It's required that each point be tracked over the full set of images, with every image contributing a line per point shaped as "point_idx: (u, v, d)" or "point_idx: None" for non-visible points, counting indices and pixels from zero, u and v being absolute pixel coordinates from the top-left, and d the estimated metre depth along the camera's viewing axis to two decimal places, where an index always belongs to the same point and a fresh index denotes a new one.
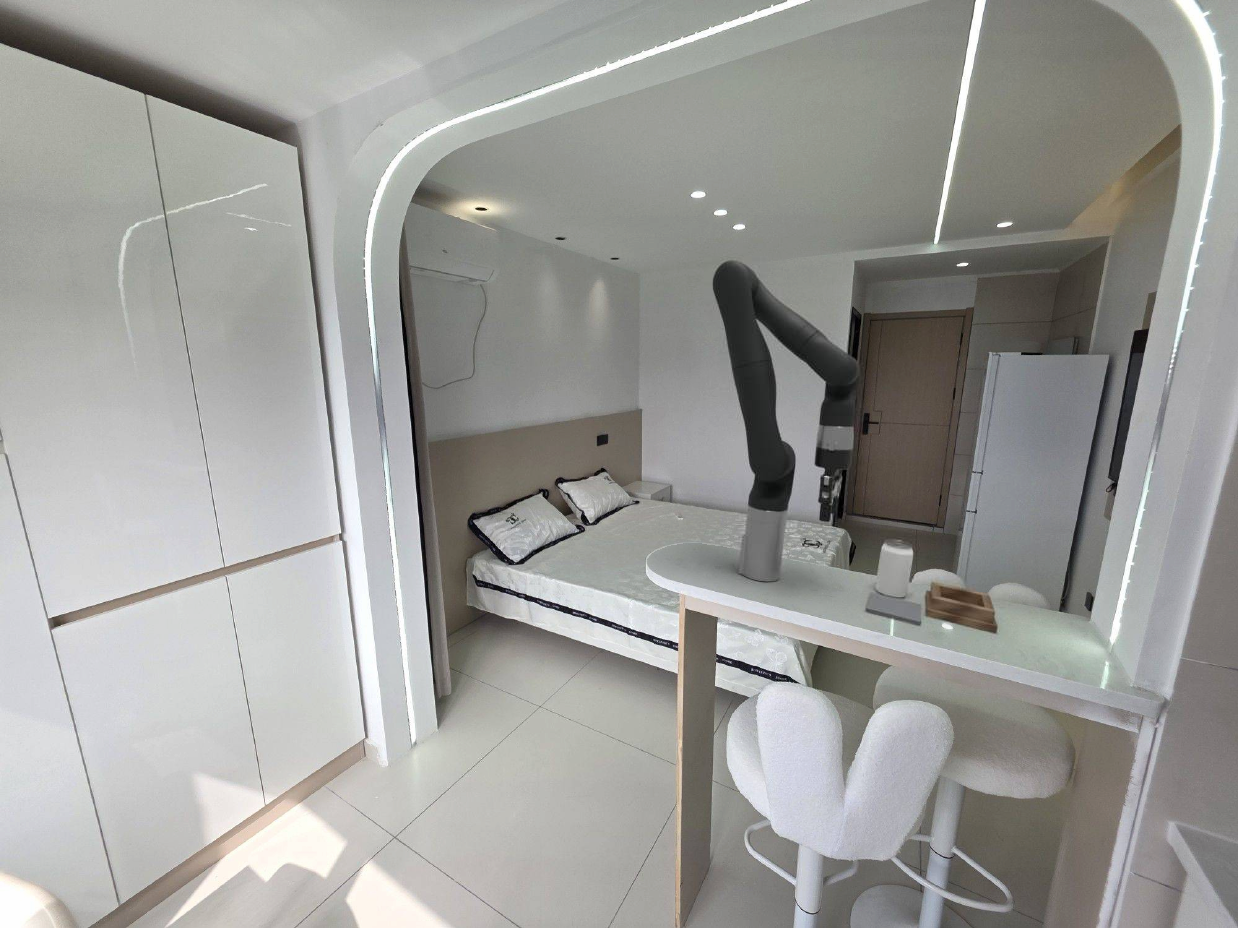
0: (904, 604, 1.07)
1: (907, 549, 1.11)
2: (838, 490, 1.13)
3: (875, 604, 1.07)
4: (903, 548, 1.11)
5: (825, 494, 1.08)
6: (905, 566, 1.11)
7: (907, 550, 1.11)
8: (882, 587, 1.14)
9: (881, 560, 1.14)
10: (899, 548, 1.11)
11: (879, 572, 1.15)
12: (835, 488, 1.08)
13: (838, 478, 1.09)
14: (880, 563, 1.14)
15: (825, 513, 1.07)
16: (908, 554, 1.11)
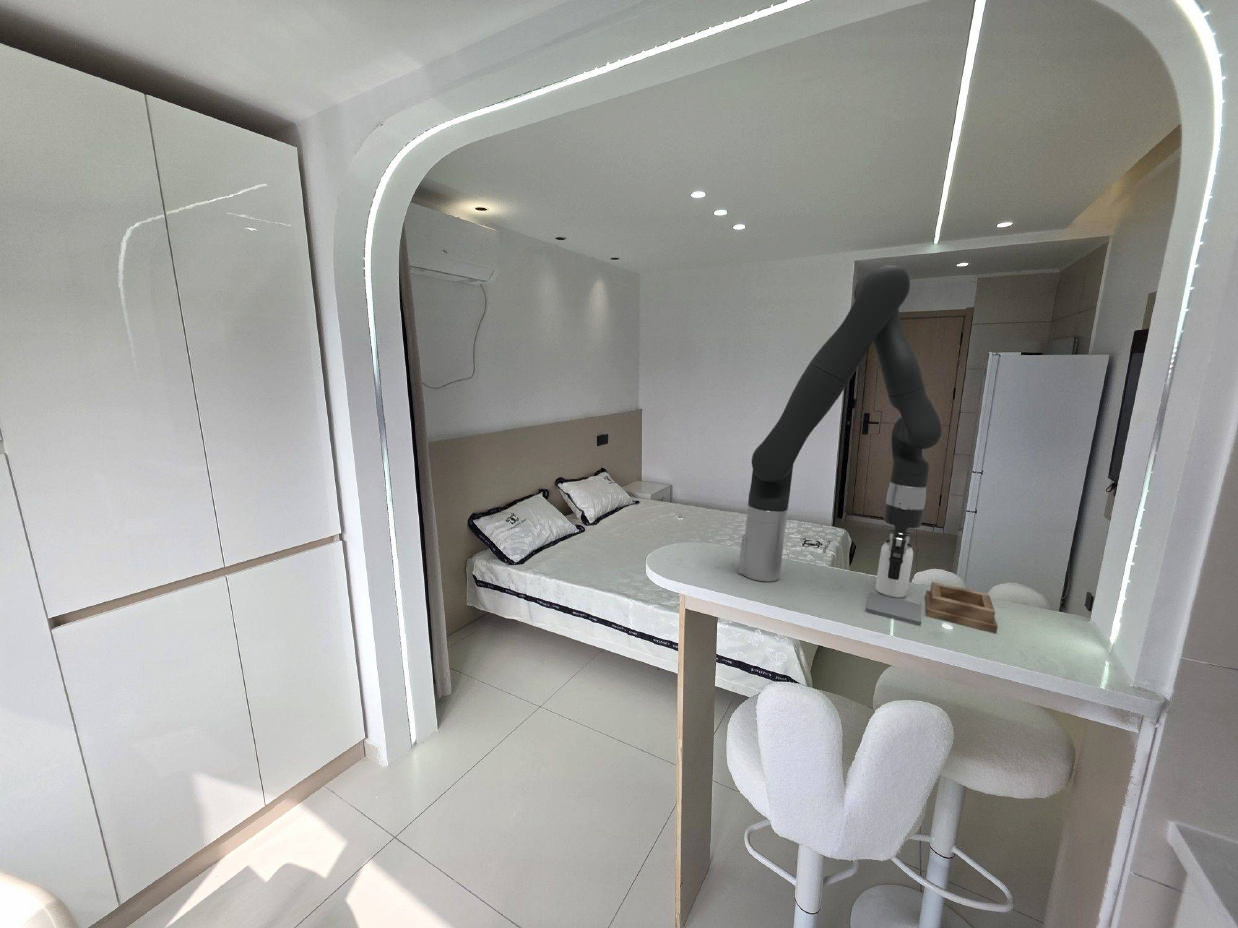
0: (904, 604, 1.07)
1: (907, 549, 1.11)
2: None
3: (875, 604, 1.07)
4: None
5: None
6: (905, 566, 1.11)
7: (907, 550, 1.11)
8: (882, 587, 1.14)
9: (881, 560, 1.14)
10: None
11: (879, 572, 1.15)
12: (905, 547, 1.10)
13: (908, 536, 1.10)
14: (880, 563, 1.14)
15: (894, 571, 1.10)
16: (908, 554, 1.11)
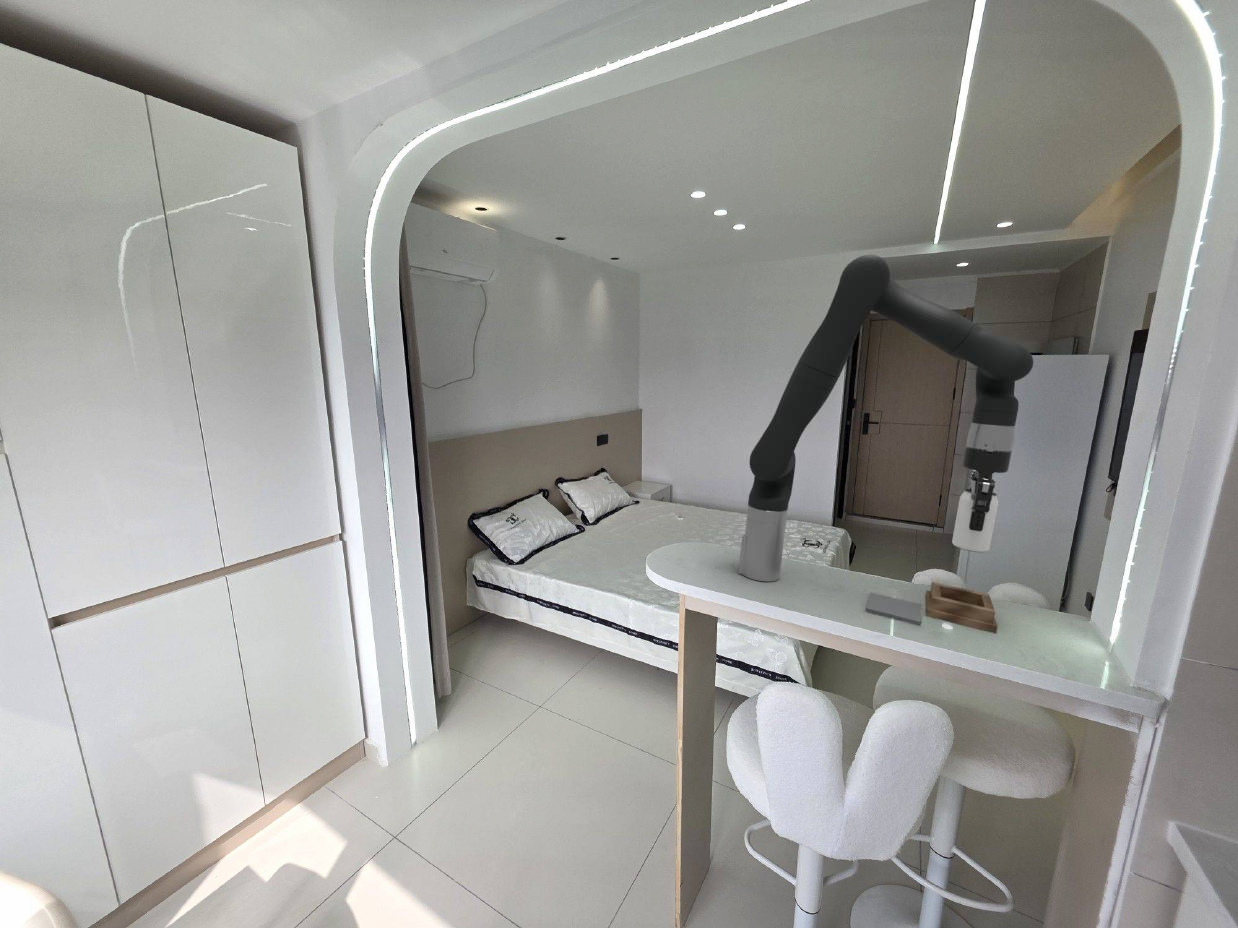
0: (904, 604, 1.07)
1: (992, 497, 0.99)
2: None
3: (875, 604, 1.07)
4: None
5: (978, 500, 1.00)
6: (989, 516, 0.99)
7: (992, 498, 0.99)
8: (962, 541, 1.02)
9: (960, 511, 1.03)
10: None
11: (957, 524, 1.03)
12: None
13: (993, 482, 0.99)
14: (959, 514, 1.03)
15: (978, 522, 0.99)
16: (994, 503, 0.99)
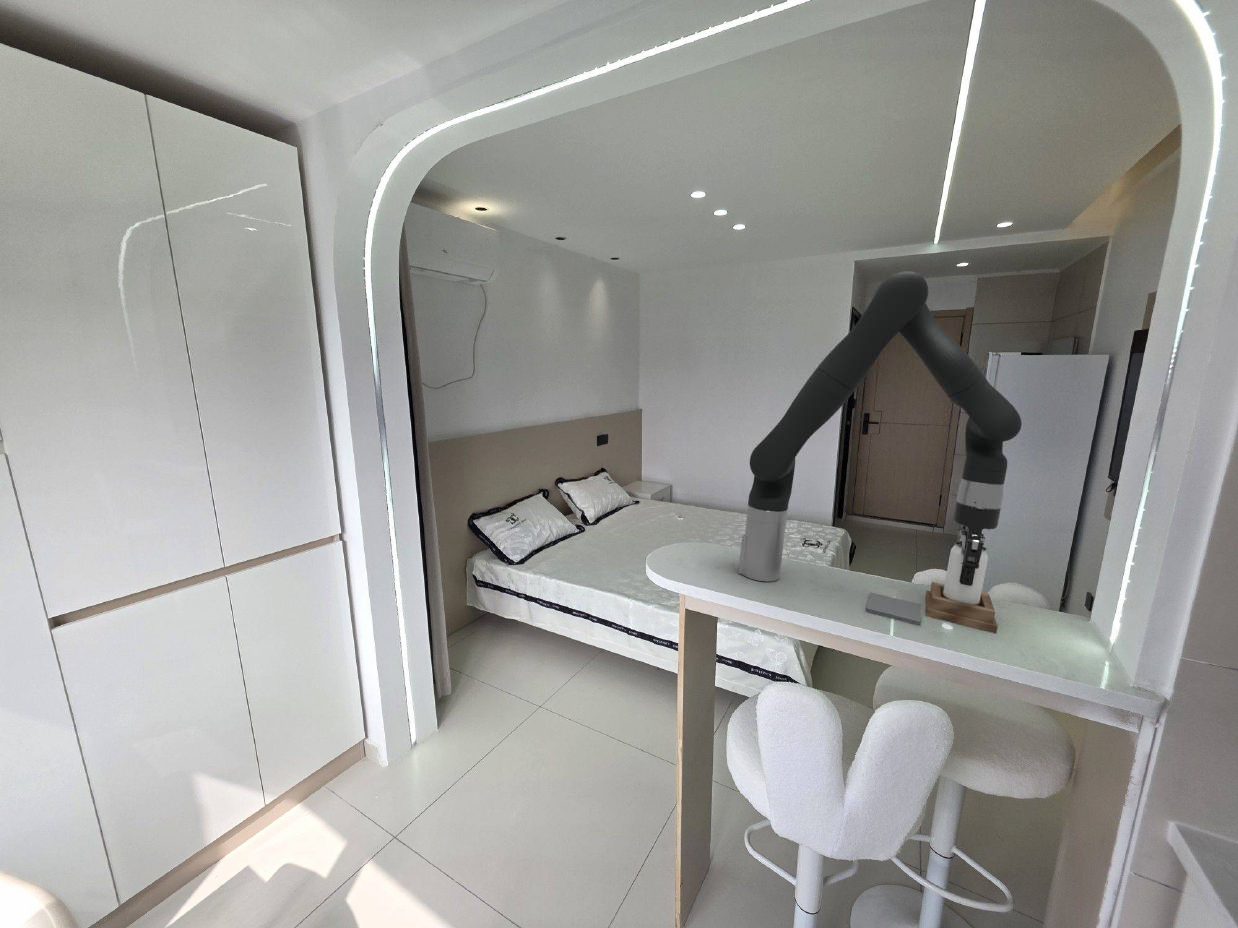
0: (904, 604, 1.07)
1: (982, 552, 1.01)
2: None
3: (875, 604, 1.07)
4: None
5: None
6: (979, 571, 1.01)
7: None
8: (953, 594, 1.04)
9: (951, 564, 1.04)
10: None
11: (948, 577, 1.05)
12: None
13: (983, 538, 1.01)
14: (950, 567, 1.05)
15: (968, 577, 1.01)
16: (983, 558, 1.01)
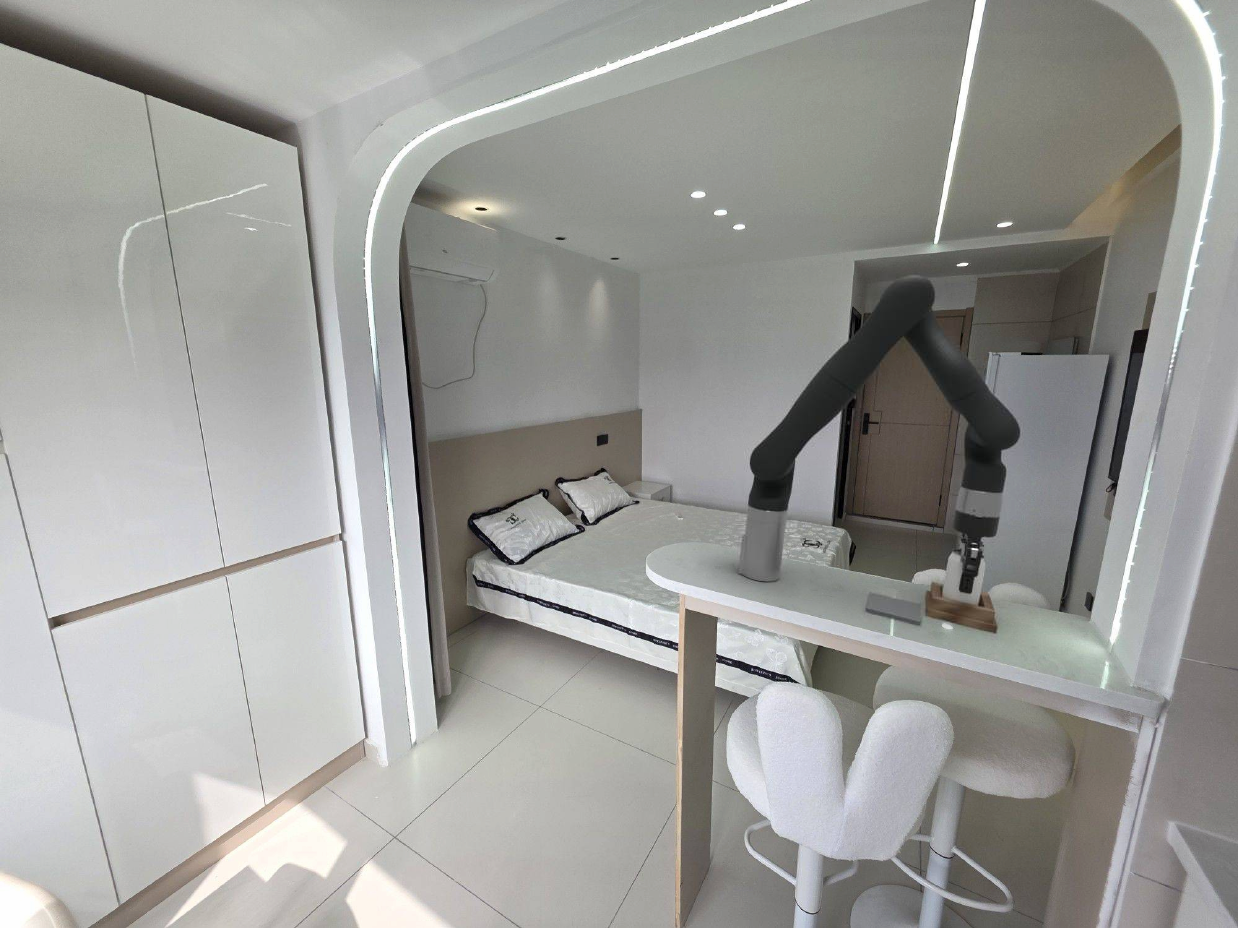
0: (904, 604, 1.07)
1: None
2: None
3: (875, 604, 1.07)
4: None
5: None
6: (977, 578, 1.02)
7: None
8: None
9: (949, 571, 1.05)
10: None
11: (946, 584, 1.05)
12: None
13: (982, 546, 1.01)
14: (948, 575, 1.05)
15: (967, 585, 1.01)
16: (981, 565, 1.01)
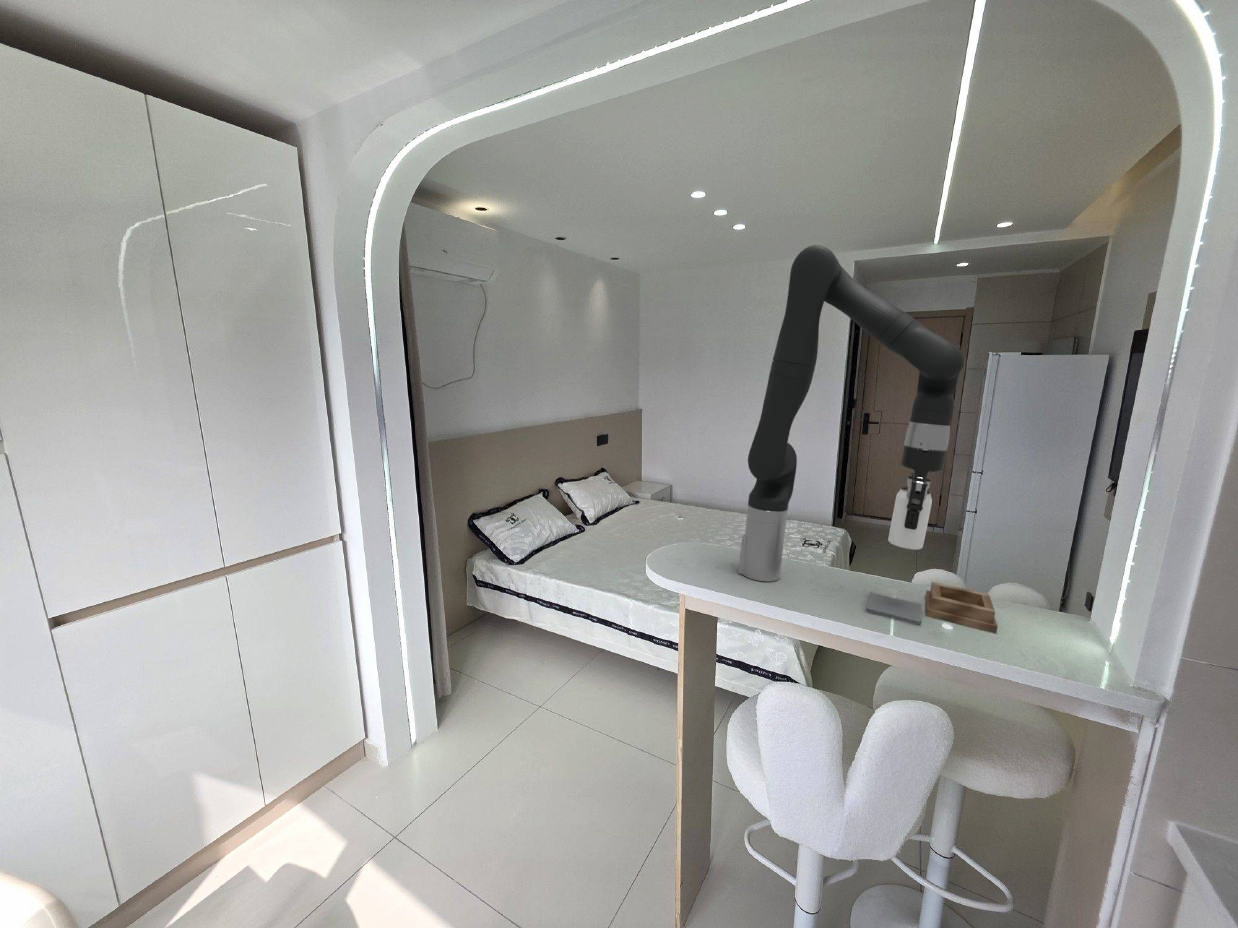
0: (904, 604, 1.07)
1: None
2: None
3: (875, 604, 1.07)
4: None
5: None
6: (923, 514, 1.00)
7: None
8: (896, 538, 1.03)
9: (896, 509, 1.03)
10: None
11: (893, 522, 1.04)
12: (925, 493, 0.99)
13: (928, 481, 0.99)
14: (895, 512, 1.04)
15: (912, 520, 0.99)
16: (927, 501, 1.00)
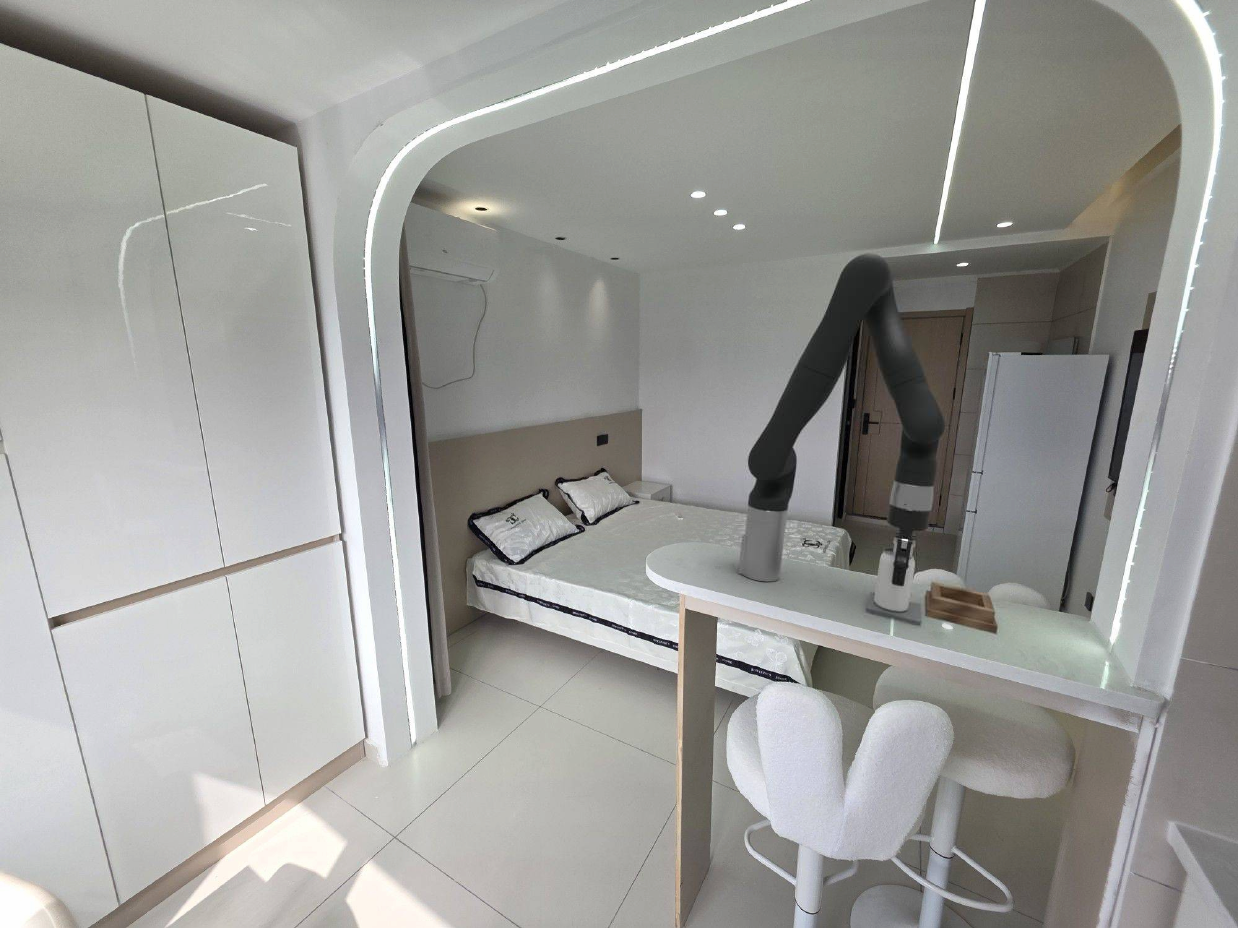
0: None
1: None
2: None
3: (875, 604, 1.07)
4: None
5: (899, 556, 1.01)
6: (906, 577, 1.02)
7: None
8: (882, 600, 1.04)
9: (880, 570, 1.05)
10: (900, 558, 1.02)
11: (878, 584, 1.05)
12: (911, 551, 1.00)
13: (914, 539, 1.01)
14: (879, 574, 1.05)
15: (899, 577, 1.00)
16: (910, 564, 1.01)
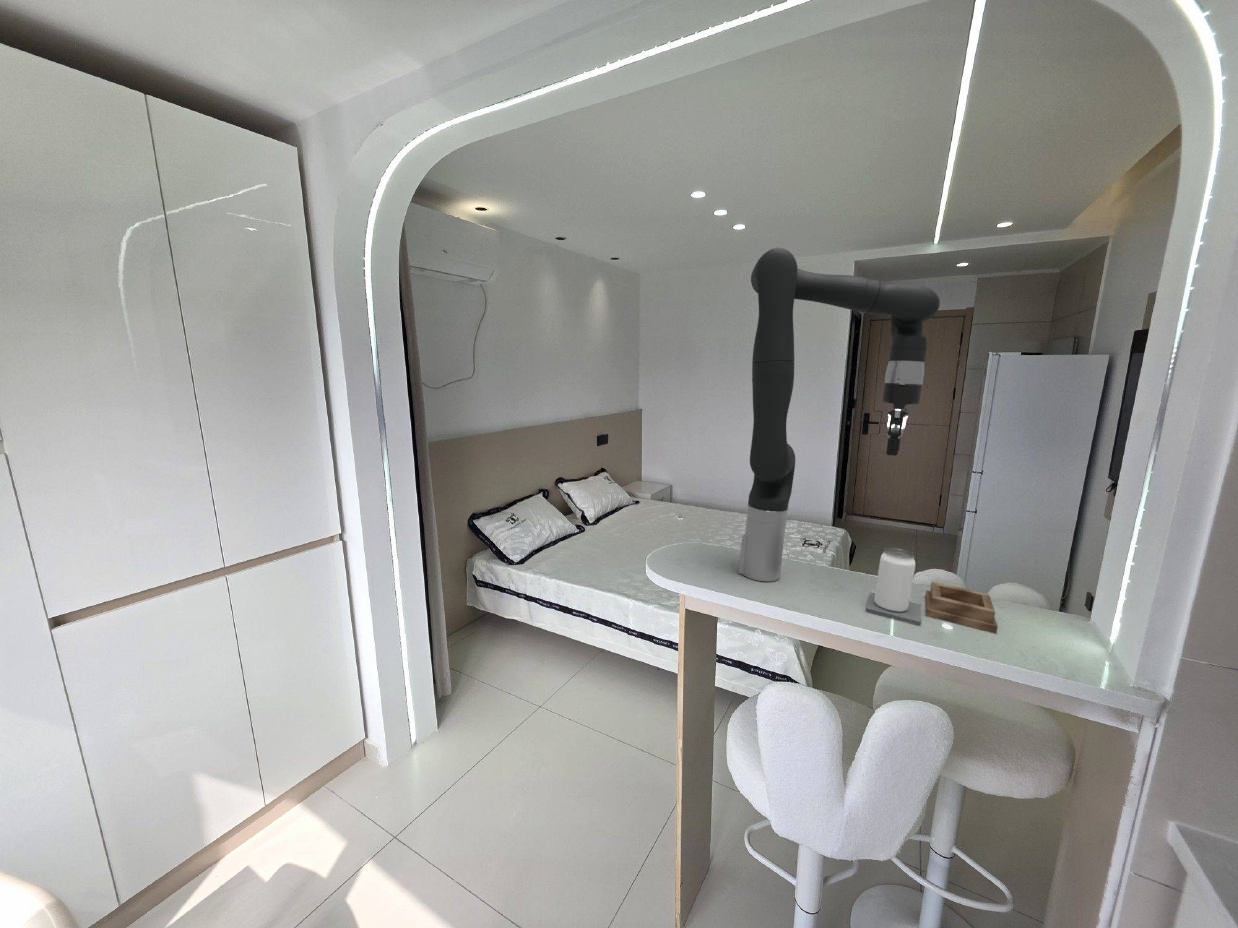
0: None
1: (909, 559, 1.02)
2: None
3: (875, 604, 1.07)
4: (904, 558, 1.01)
5: (893, 428, 1.10)
6: (906, 578, 1.02)
7: (908, 560, 1.02)
8: (882, 600, 1.04)
9: (880, 571, 1.05)
10: (900, 558, 1.02)
11: (878, 584, 1.05)
12: (904, 422, 1.10)
13: (906, 413, 1.11)
14: (879, 574, 1.05)
15: (893, 446, 1.10)
16: (910, 565, 1.01)
